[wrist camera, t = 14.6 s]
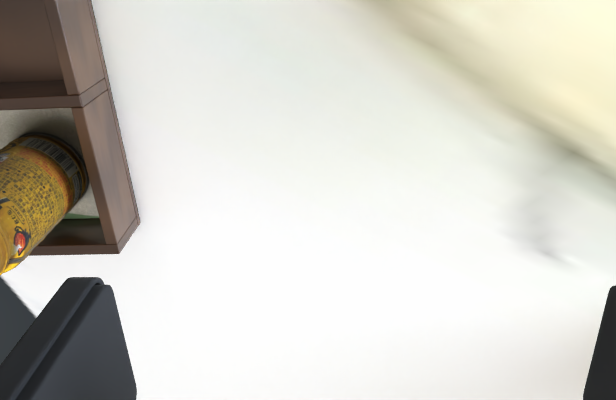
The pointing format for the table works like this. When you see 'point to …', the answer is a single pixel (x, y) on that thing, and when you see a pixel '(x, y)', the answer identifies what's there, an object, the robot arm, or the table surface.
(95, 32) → the holder
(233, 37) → the table surface
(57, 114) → the condiment
